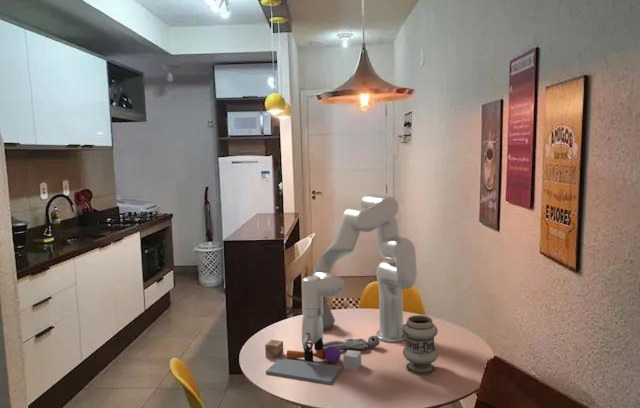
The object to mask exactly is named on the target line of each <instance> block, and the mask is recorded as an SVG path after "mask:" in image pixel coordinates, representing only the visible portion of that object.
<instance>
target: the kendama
mask: <svg viewBox="0 0 640 408" xmlns="http://www.w3.org/2000/svg"><path fill="white" fill-rule="evenodd" d="M340 350H341V349H338V348H337V347H335V346H329V347H327V348H326V350H324V349H322V350H320V351H318V352H316V351H315V352H313V357H316V358H317V359H320V360H321V361H326V362H328V363H330V364H336V363H338V362H339V360H341V359H340V358H341V355H342V354H341V351H340ZM301 358H303V359H304V351H299V350H291V349H290V350H287V351H286V359H290V360H295V359H296V360H297V359H301Z"/></svg>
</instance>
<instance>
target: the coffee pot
mask: <svg viewBox="0 0 640 408" xmlns="http://www.w3.org/2000/svg"><path fill="white" fill-rule="evenodd" d="M285 296H286V297H285V299H287V297H289V298H290V299H293V300H295V301H297V302H301V303H302V298H300V297H297V296H294V295H290V294H286V295H285ZM328 301H329V297H328V296H323V315H322V319H323V331H325V330H329V329H331V328H332V326H334V324H335V322H336V319H335V317H334V315H333V313H332V311H331V309H330V306H329V304H328Z"/></svg>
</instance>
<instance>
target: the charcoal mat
mask: <svg viewBox="0 0 640 408" xmlns="http://www.w3.org/2000/svg"><path fill="white" fill-rule="evenodd" d="M341 371H342V367H341V366H337V365H330V364H323V363H317V362H316V363H315V362H309V361H305V360H304V361H301V360H297V359H296V360H295V359H287V358H283V357H282V358H281V357H279V358H278V359H276V361H275V362H274V363H273V364H272V365H271V366H270V367H268V368H267V370H265V375H270V376H271V375H272V376H276V377H277V376H278V377H284V378H287V379H288V378H289V379H296V380H301V381H308V382H313V383H319V384H324V385H325V384H326V385H332V384H333V382H334V380H335V379H336V377H338V375H339V374H340V372H341Z"/></svg>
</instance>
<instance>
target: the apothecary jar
mask: <svg viewBox="0 0 640 408" xmlns="http://www.w3.org/2000/svg"><path fill="white" fill-rule="evenodd" d="M406 320H407V321H406V323H405V324H403V325H404V326H403V333H404V334H405V335H406V339H405V342H406V344H405V346H404V348H403V349H402V355H403V357H404V358H405V359H406V360H407V361H408V363H407V364H406V366H405V367H406V370H407V371H408V372H411V373H412V374H414V375H417V376H427V375H428V376H429V375H431V374H433V373H435V372H436V367H435V366H434V364H432V363H434V362H435V361H437V359H438V357H439V351H438V349H437V347H435V337H436V336H437V335H438V328H437V326H436V325H435V324H434V323H433V319H432V318H431V317H430V316H428V315H422V314H417V315H410V316H408V318H407V319H406Z"/></svg>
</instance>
